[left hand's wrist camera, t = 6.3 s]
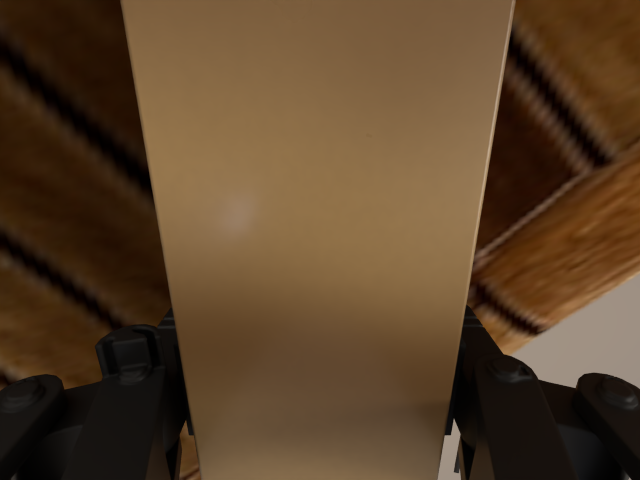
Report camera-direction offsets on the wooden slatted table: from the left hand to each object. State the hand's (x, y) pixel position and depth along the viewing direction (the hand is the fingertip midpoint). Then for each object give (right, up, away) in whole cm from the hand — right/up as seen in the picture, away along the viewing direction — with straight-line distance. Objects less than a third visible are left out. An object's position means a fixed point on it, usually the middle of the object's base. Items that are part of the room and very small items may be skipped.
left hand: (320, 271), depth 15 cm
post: (0, +19, -7) cm, 20 cm away
